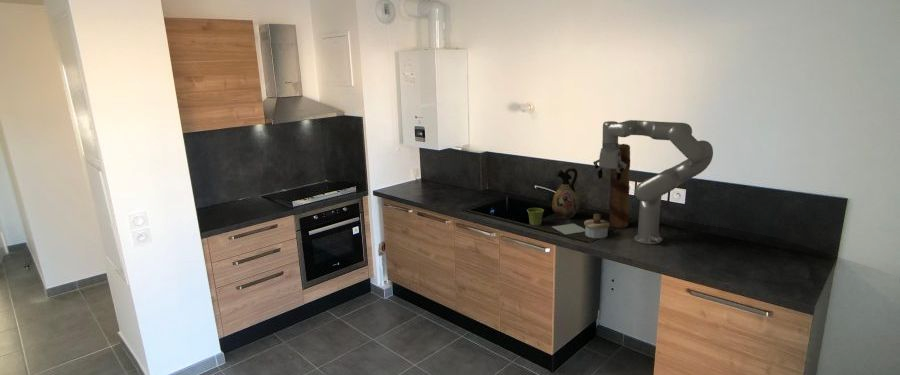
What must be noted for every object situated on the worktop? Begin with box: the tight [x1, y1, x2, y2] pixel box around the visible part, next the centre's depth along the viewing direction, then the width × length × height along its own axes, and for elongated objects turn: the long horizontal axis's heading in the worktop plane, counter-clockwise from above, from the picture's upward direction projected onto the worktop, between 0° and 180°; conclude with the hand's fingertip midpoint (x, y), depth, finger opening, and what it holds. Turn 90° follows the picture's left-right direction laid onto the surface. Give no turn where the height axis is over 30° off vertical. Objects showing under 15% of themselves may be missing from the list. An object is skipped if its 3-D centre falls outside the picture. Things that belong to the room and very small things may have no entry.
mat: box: [552, 223, 585, 235], centre depth 268 cm, size 14×14×1 cm
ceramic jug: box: [551, 167, 580, 219], centre depth 288 cm, size 17×15×30 cm
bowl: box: [584, 225, 609, 239], centre depth 257 cm, size 11×11×6 cm
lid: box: [583, 213, 610, 229], centre depth 256 cm, size 12×12×6 cm
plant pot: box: [526, 207, 545, 226], centre depth 279 cm, size 9×9×9 cm
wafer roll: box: [608, 143, 631, 229], centre depth 269 cm, size 10×11×45 cm
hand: (609, 179), depth 255 cm, fingers open, 9 cm apart
